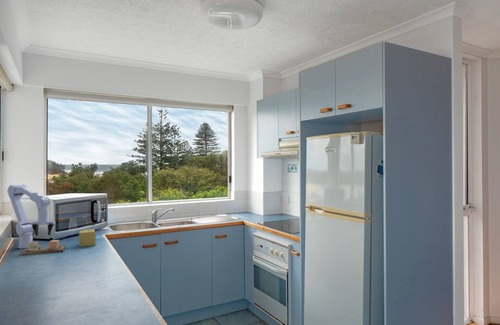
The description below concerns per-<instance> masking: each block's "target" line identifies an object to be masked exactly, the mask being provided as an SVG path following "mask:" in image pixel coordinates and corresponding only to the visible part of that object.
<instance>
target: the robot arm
mask: <svg viewBox="0 0 500 325" xmlns="http://www.w3.org/2000/svg"><path fill="white" fill-rule="evenodd" d="M6 192H7V194H8V198H9V199H10V202H11V206H12V209H13V211H14V214H15V217H16V220H17V223H16V224H15V232H16V234H17V235H18V243H19V244H18V245H19V246H18V247H17V248H19V249H27V248H29V243H30V242H33V235H32V234H33V233H34V234H35V236H36V237H37V236H39V226H40V225H41V226H42V225H43V226H44V225H47V226H46V227H47V236H50V235H51V233H52V229H53V228H54V225H55V224H56V221H55V220H49V210H48V209H49V208H48V207H49V205H50V204H51V201H50V198H49V197H48V196H43V195H41V194H39V192H37V191H36V192H33V191H32V190H31V189H29V188H28V187H27V185H25V184H17V185H16V184H15V185H9V186H8V187H7V191H6ZM24 196H27V197H29V200H31V201H32V202H34V203H35V205H36V209H37V221H31V220H29V219H28V217H27V215H26V212H25V210H24V207H23V203H22V200H21V199H22V197H24Z"/></svg>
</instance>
